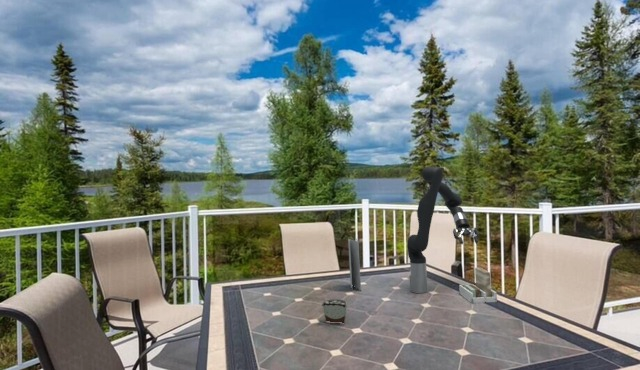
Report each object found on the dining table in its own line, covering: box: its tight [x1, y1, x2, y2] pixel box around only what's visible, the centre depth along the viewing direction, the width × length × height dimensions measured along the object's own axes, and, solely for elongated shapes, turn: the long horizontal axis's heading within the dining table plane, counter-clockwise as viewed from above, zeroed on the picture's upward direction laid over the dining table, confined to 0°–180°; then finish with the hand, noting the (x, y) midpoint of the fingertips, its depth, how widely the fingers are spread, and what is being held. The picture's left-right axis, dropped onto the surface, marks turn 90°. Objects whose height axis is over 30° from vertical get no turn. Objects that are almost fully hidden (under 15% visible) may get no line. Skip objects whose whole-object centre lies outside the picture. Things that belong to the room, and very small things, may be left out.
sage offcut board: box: [463, 284, 476, 298], centre depth 202 cm, size 2×10×6 cm, turn 0°
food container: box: [321, 298, 348, 324], centre depth 177 cm, size 12×6×10 cm, turn 71°
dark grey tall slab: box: [347, 238, 362, 291], centre depth 233 cm, size 14×6×30 cm, turn 179°
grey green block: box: [468, 284, 480, 298], centre depth 202 cm, size 2×10×6 cm, turn 0°
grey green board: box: [474, 267, 492, 297], centre depth 202 cm, size 3×12×15 cm, turn 0°
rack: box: [458, 283, 498, 304], centre depth 202 cm, size 13×17×5 cm
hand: (469, 243), depth 218 cm, fingers open, 8 cm apart
